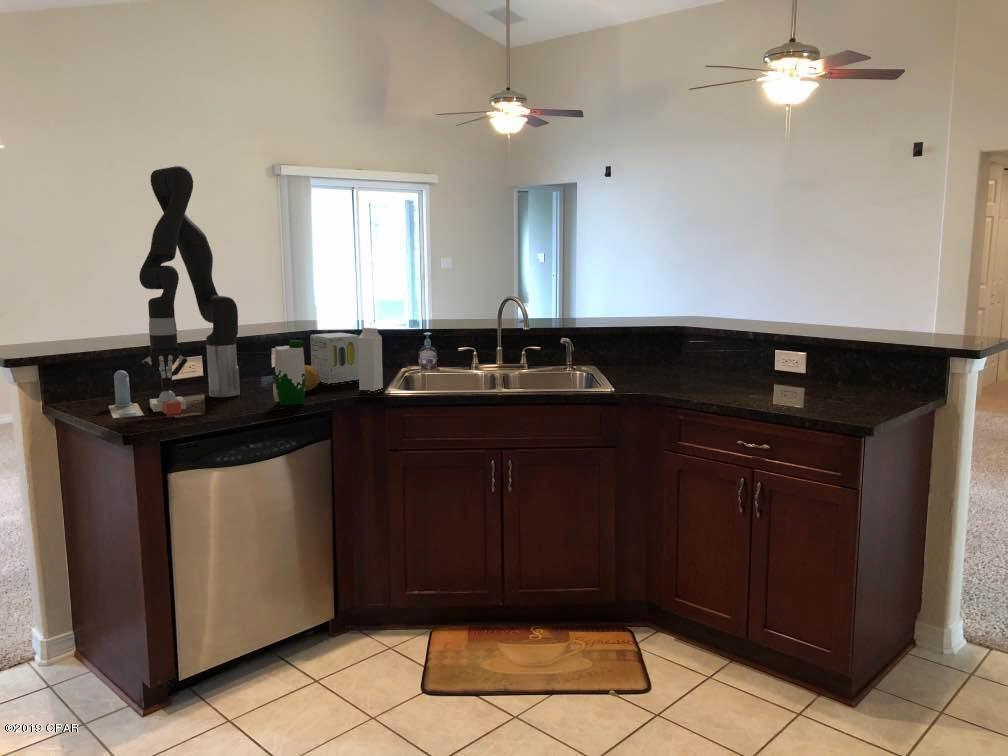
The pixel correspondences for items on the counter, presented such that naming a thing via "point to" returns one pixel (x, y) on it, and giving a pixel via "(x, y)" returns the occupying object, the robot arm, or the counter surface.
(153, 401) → the base
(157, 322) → the robot arm
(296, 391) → the milk carton
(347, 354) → the supplement box
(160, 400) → the light blue rounded piece
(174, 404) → the die
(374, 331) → the milk
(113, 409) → the track
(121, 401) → the pawn
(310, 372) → the potato
